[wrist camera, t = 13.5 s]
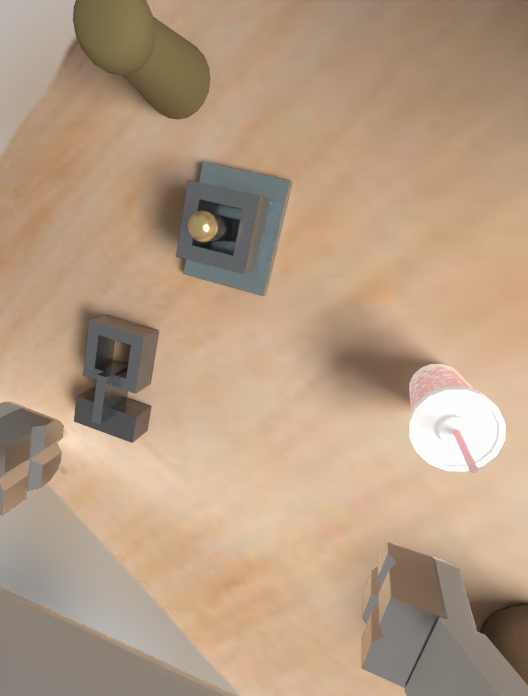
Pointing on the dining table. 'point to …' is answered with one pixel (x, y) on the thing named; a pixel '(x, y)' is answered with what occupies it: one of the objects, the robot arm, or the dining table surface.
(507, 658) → the pillar candle
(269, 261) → the grey plate with post
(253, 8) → the dining table surface
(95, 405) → the chain tail
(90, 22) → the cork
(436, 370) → the beverage cup
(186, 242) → the end link
